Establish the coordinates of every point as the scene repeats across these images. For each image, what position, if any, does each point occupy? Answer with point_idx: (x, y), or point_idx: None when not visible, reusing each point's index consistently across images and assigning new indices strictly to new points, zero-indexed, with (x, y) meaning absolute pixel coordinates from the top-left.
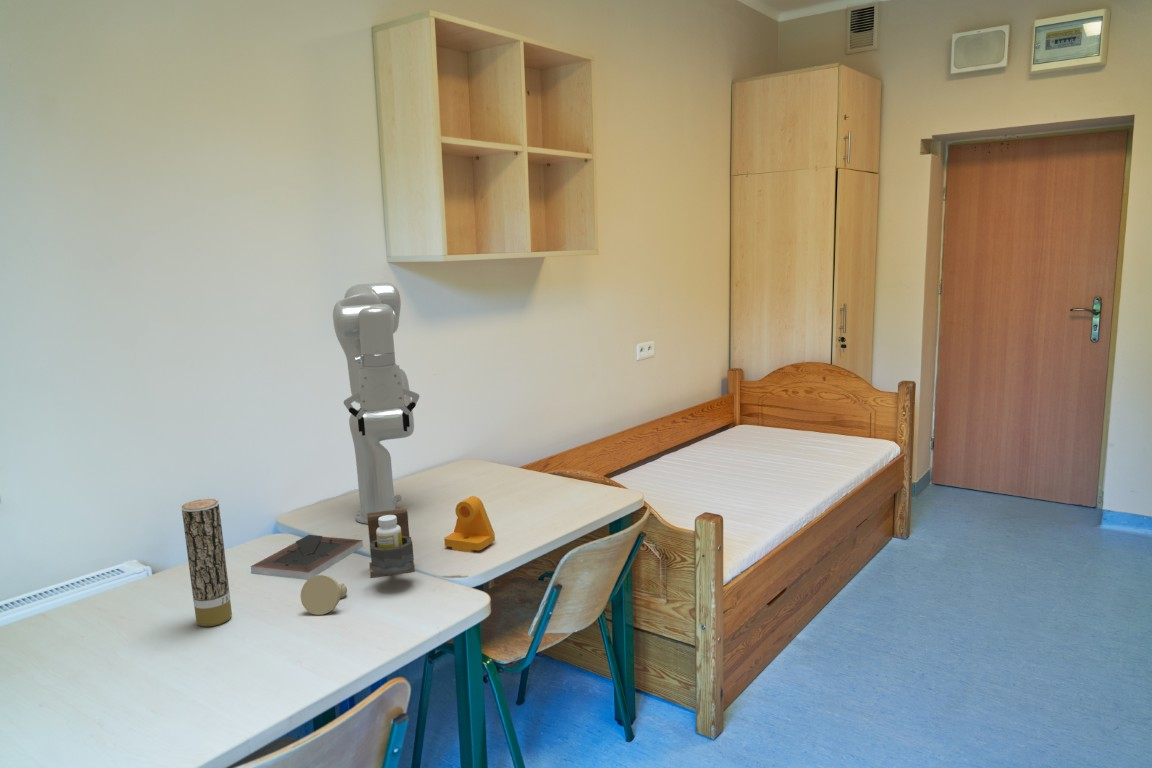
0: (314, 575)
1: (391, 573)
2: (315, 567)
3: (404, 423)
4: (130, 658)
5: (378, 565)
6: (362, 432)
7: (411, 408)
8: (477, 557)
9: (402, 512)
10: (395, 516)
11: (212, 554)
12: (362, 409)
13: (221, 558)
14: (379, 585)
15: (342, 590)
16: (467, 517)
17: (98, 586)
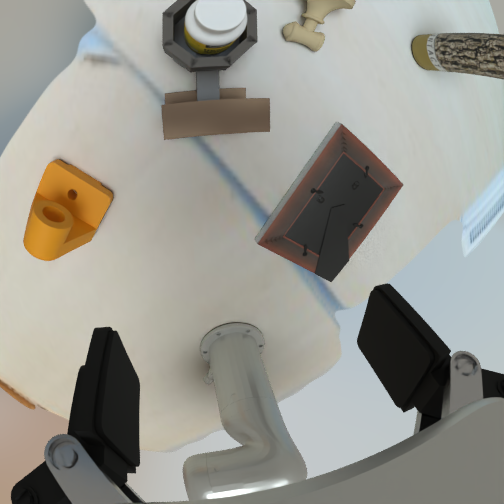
0: (329, 132)
1: None
2: (332, 141)
3: (100, 370)
4: (461, 21)
5: None
6: (395, 292)
7: (40, 478)
8: (61, 138)
9: (175, 105)
10: (197, 9)
11: (484, 33)
12: (500, 398)
13: (472, 37)
14: None
15: (291, 23)
16: (54, 210)
17: (484, 205)
